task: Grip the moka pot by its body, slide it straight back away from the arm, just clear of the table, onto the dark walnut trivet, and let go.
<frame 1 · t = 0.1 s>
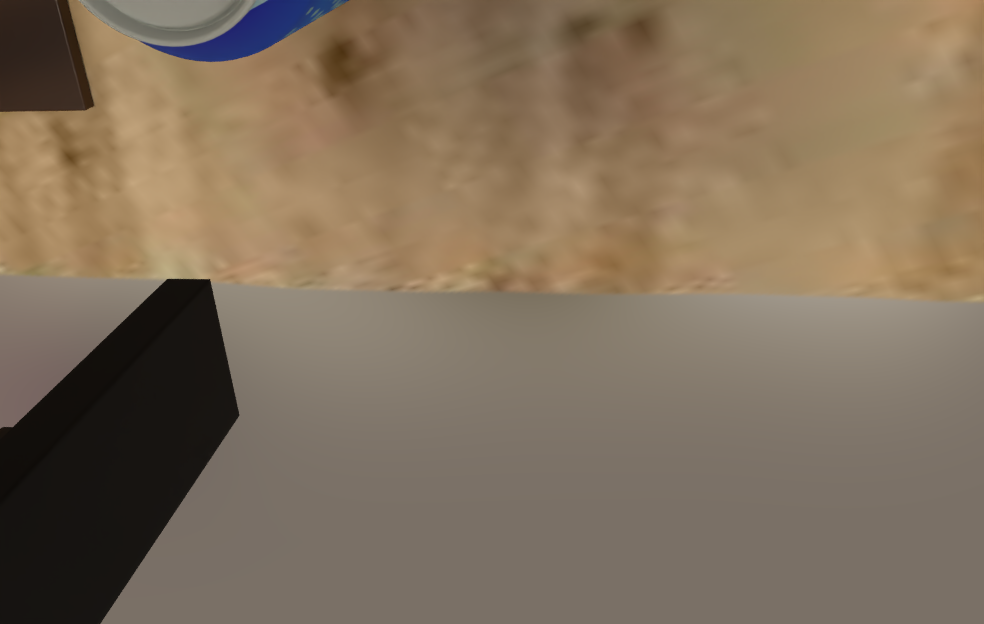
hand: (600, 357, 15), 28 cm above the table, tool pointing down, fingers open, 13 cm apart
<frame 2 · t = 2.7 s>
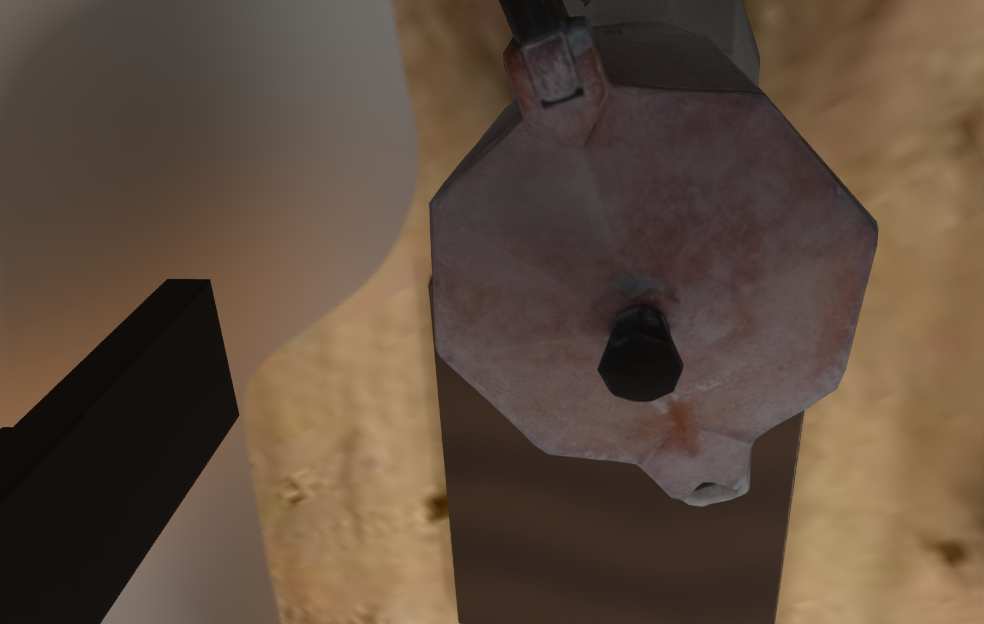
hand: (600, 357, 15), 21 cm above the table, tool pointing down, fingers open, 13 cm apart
walnut trivet: (614, 470, 42), on the table
moka pot: (623, 58, 33), on the table
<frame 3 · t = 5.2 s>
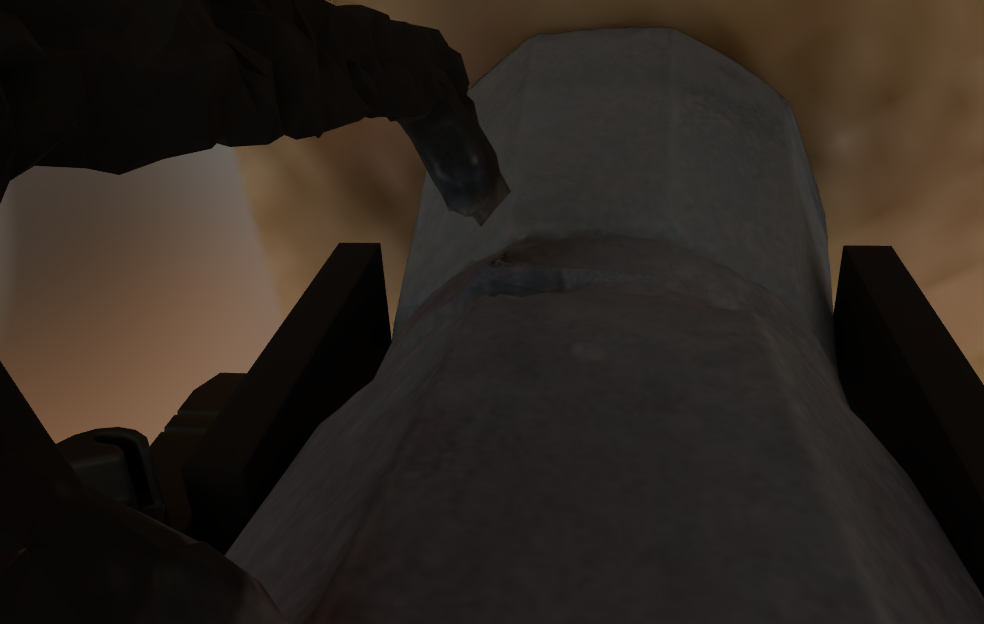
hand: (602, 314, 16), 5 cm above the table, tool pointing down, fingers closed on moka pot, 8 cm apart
moka pot: (598, 206, 20), on the table, touching gripper
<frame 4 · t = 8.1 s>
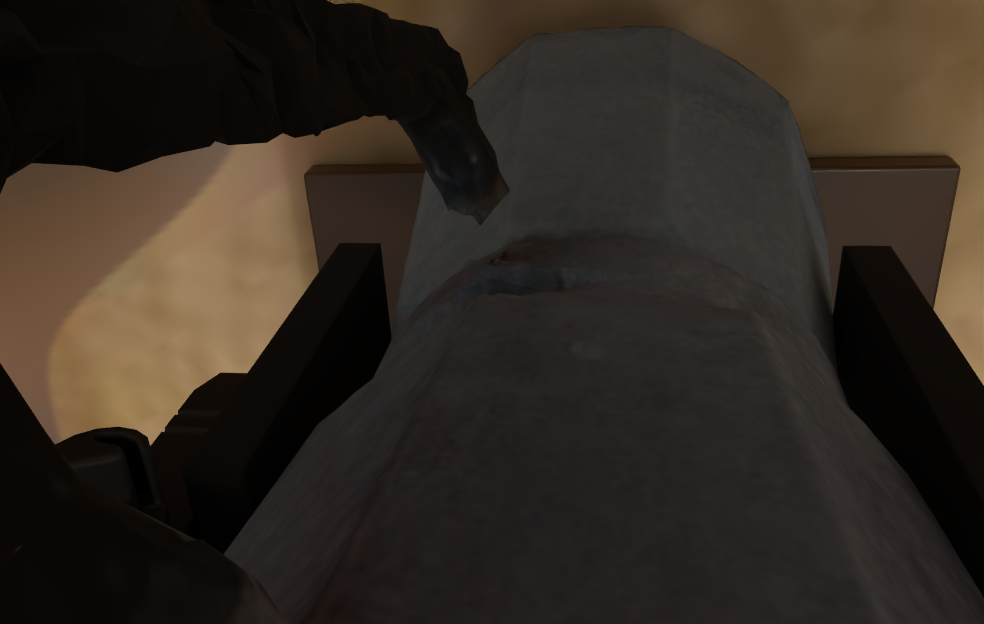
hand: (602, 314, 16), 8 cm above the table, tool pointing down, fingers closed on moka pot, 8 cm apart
walnut trivet: (613, 476, 27), on the table
moka pot: (598, 205, 20), point 3 cm above the table, touching gripper
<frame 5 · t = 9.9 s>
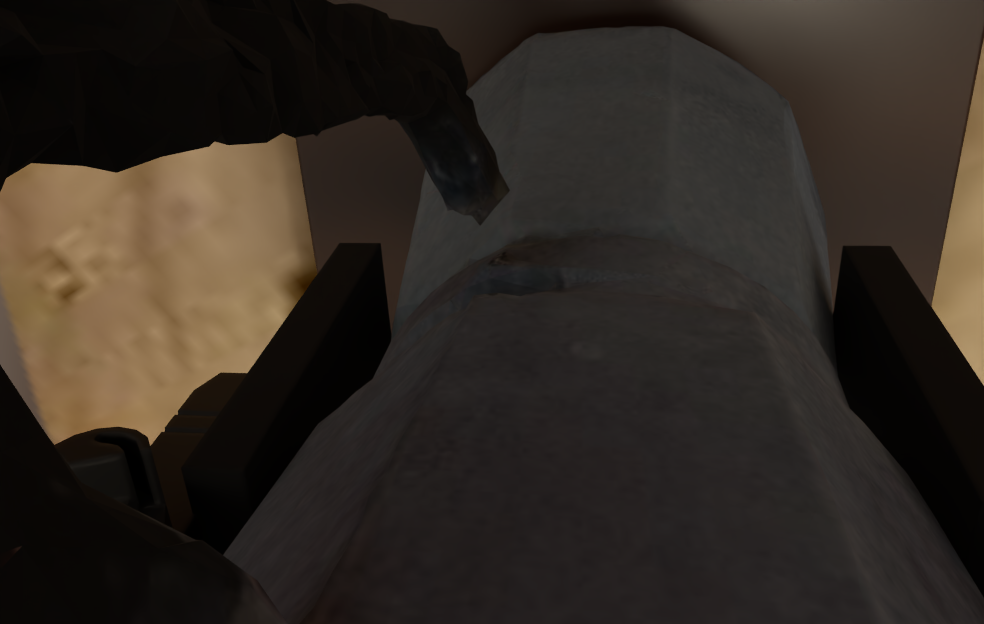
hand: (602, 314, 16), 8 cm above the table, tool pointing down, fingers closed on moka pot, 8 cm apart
walnut trivet: (613, 198, 23), on the table
moka pot: (598, 205, 20), point 3 cm above the table, touching gripper
when the fingers open (6 cm above the table, at t = 11.1 s): moka pot stays where it is, resting on walnut trivet.
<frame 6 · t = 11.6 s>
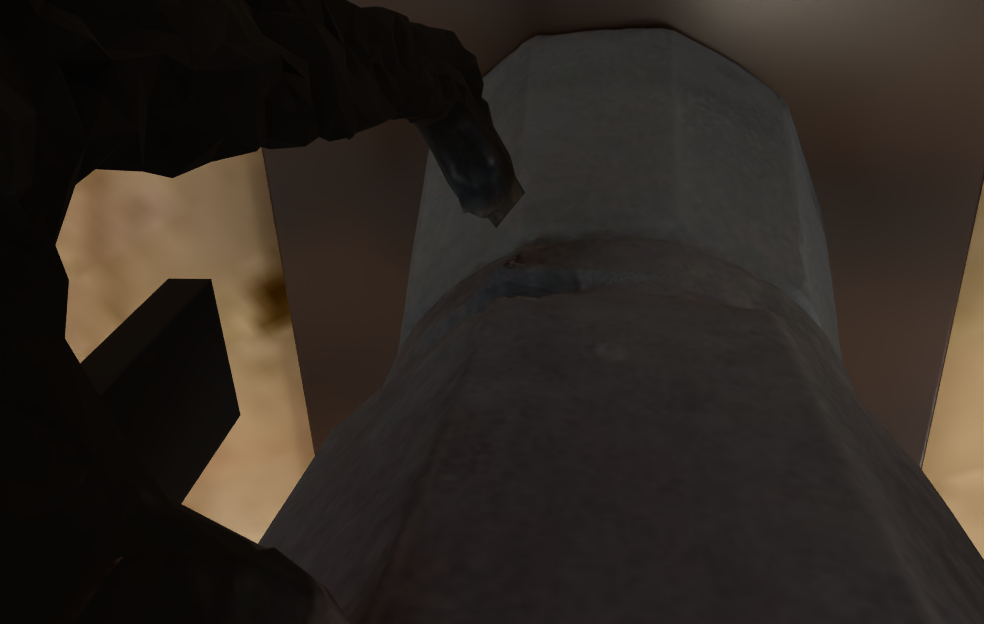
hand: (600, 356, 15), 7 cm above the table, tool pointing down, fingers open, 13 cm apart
walnut trivet: (606, 198, 21), on the table
moka pot: (596, 207, 21), point 1 cm above the table, touching walnut trivet
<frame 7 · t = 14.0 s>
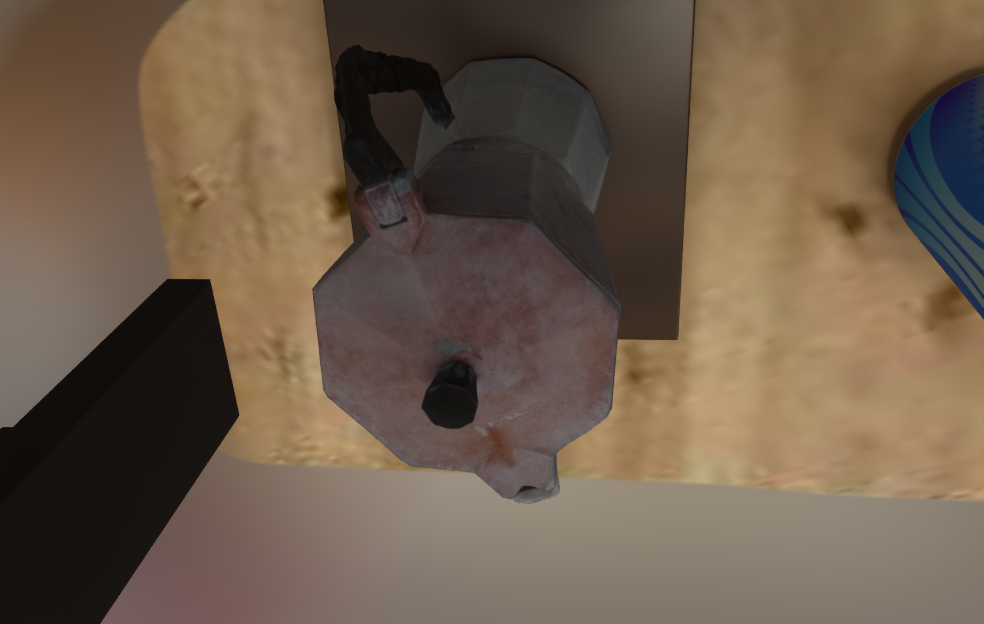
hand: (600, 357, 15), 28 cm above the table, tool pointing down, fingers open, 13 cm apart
walnut trivet: (512, 142, 42), on the table
moka pot: (506, 145, 41), point 1 cm above the table, touching walnut trivet
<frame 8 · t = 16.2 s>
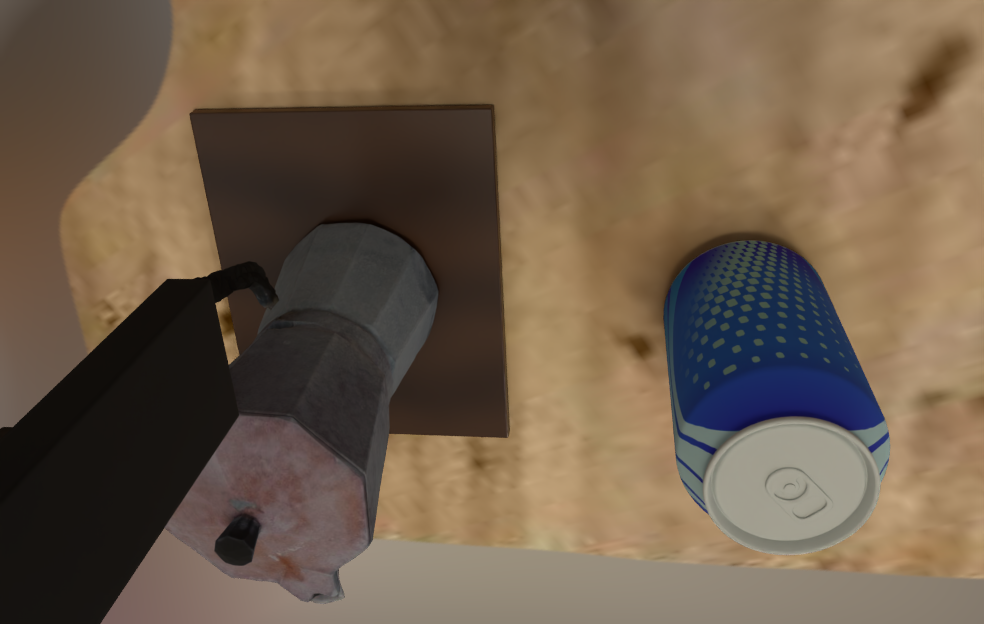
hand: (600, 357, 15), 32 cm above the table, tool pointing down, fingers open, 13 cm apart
walnut trivet: (363, 281, 51), on the table
beer can: (740, 300, 48), on the table
moka pot: (356, 285, 50), point 1 cm above the table, touching walnut trivet
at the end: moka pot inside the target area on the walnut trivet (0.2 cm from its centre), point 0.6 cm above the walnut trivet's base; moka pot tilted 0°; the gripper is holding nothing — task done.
